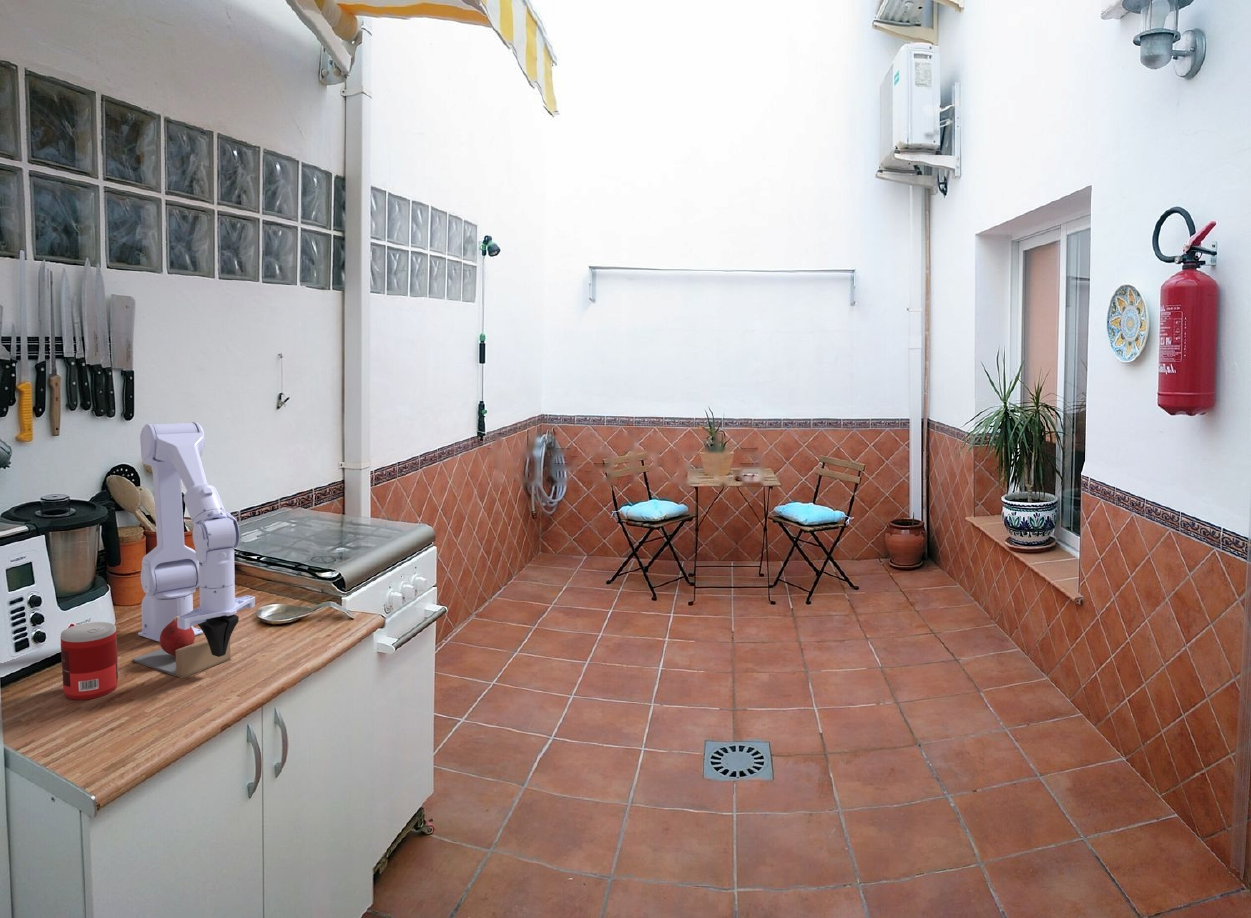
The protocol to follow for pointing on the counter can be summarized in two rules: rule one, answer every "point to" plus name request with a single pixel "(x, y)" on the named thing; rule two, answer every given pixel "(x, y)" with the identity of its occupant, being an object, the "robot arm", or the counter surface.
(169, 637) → the onion
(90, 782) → the counter surface
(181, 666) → the l-shaped bracket
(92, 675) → the canned food
